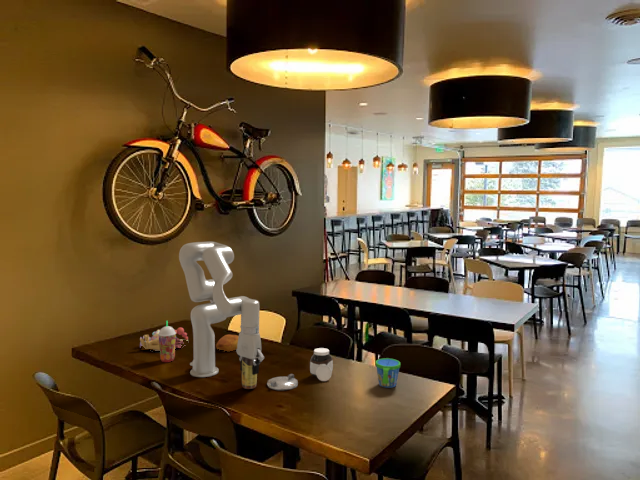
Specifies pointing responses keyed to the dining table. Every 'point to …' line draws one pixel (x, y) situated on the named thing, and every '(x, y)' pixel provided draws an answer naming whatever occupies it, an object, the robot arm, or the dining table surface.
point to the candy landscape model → (154, 340)
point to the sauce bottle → (248, 374)
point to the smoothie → (167, 343)
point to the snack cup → (387, 372)
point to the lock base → (282, 383)
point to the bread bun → (228, 343)
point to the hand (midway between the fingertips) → (249, 371)
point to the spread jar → (321, 364)
